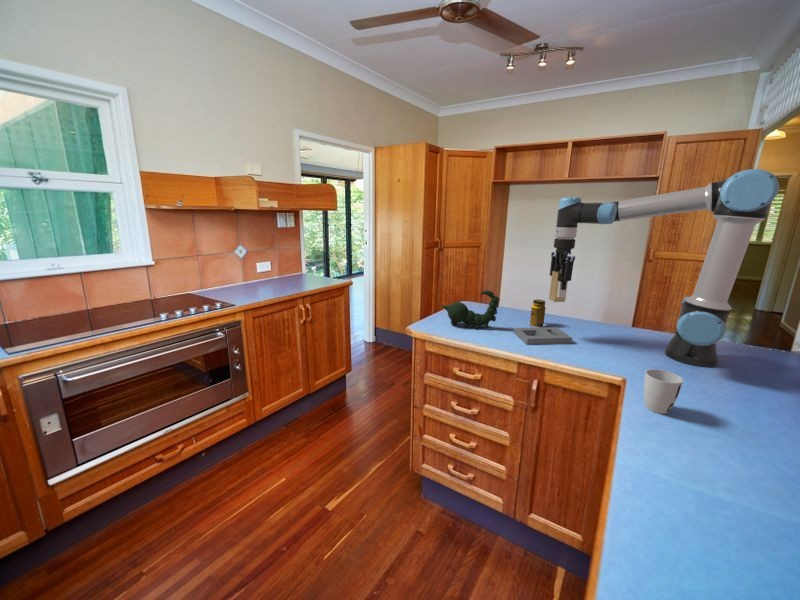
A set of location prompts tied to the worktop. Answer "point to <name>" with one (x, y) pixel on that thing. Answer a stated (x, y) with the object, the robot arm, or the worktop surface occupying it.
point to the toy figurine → (472, 313)
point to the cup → (661, 390)
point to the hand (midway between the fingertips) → (557, 295)
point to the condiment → (538, 313)
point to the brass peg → (556, 287)
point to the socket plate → (542, 335)
